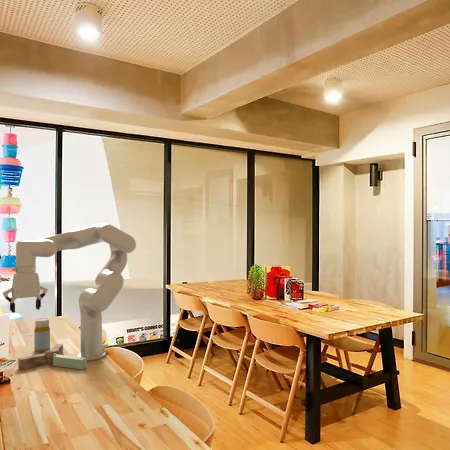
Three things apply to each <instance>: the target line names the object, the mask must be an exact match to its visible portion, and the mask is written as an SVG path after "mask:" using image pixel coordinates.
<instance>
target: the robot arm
mask: <svg viewBox="0 0 450 450" xmlns="http://www.w3.org/2000/svg"><path fill="white" fill-rule="evenodd" d="M99 243H107V244H108V245H109V249H110V257H109V258H108V260H107V262H106V264H105V265H104V266H103V268H102V269H101V270H100V271H99V273H97V275H96V277H95V279H94V283H95V286H96V287H97V289H96V288H92V287H89V288H86V289H84V290H82V292H81V293H80V295H79V297H78V306H79V314H80V315H79V316H80V352H79V353H77V356H76V357H85V358H87V362H88V361H89V362H90V361H95V360H100V359H103V358H105V357H106V354H107V353H106V351H104V349H106V348H108V347H109V344H108V343H107V342H106V343H103V314H102V312H104V311H105V310H107V309H108V308H109V307H110V305H111V304H112V303H113V302H114V300H115V299H116V297H117V296H118V295H119V293H120V292H121V291H122V290H123V287H124V284H125V282H124V281H125V280H124V277H123V275H122V272H123V271H124V270H125V269H126V266H127V264H128V254H131V253H132V252H134V251H135V249H136V248H137V243H136V240H135V238H134V237H133V236H132V235H130V234H129V233H127V232H125V231H123V230H121V229H119V228H118V227H117V226H114V225H112V224H109V223H98V224H93V225H91V226H86V227H82V228H79V229H74V230H70V231H66V232H63V233H59V234H55V235H54V234H53V235H51V236H46V237H42V238H39V239H36V240H30V239H29V240H18V241H16V244H15V267H12V268H11V272H15V273H13V278H12V283H11V284H12V285H11V288H9V289H7V290H5V291H3V292H2V296H3V297H4V299H5V300H6V301H7V302H8V303H9V311H11V313H13V314H14V313H15V312H16V303H15V301H16V300H17V299H25V298H36V299H35V309H36V310H40V308H41V307H42V300H43V298H45V296H46V294H47V292H48V290H49V289H48V288H46V287H44V286H41V285H40V277H39V272H37V266H36V265H37V263H36V262H37V261H36V259H37V258H38V257H39V258H51V257H53V256H55V254H56V253H57V252H59V251H65V250H78V249H81V248H82V249H83V248H85V247H88V246H92V245H96V244H99ZM41 291H42V292H41ZM10 293H11V297H10V296H9V294H10Z"/></svg>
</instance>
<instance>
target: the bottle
mask: <svg viewBox="0 0 450 450" xmlns="http://www.w3.org/2000/svg"><path fill="white" fill-rule="evenodd" d="M34 323H35V325H34V327H35V328H34V330H33V331H34V337H33V339H34V341H33V342H34V347H33V348H34V351H35V352H36V353H45V351H47V350H51V327H50V318H48V317H47V318H45V317H44V318H42V317H41V318H38V319H37V318H36V319H35V320H34Z"/></svg>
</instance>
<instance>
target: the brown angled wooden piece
mask: <svg viewBox="0 0 450 450" xmlns="http://www.w3.org/2000/svg"><path fill="white" fill-rule="evenodd" d="M54 353H56V355H64V354H63V353H64V344H63V343H56V344H55V345H54V346H53V347H52V349H51V348H50V349H49V350H47V351H45V352H42V353H39V354H34V355H29V356H23V357H22V356H21V357H19V358H17V362H18V369H19V371H23V370H27V369H31V368H37V367H42V366H46V365H48V366H51V365H52V366H53V354H54Z"/></svg>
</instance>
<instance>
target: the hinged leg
mask: <svg viewBox="0 0 450 450" xmlns="http://www.w3.org/2000/svg"><path fill="white" fill-rule="evenodd" d="M87 362H88V361H87V358H85V357H77V356H75V355H67V354H62V355H56V353H54V354H53V365H52V366H54V367H59V368H61V367H62V368H68V369H77V370H84V369H85V368H87V367H88V363H87Z"/></svg>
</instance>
